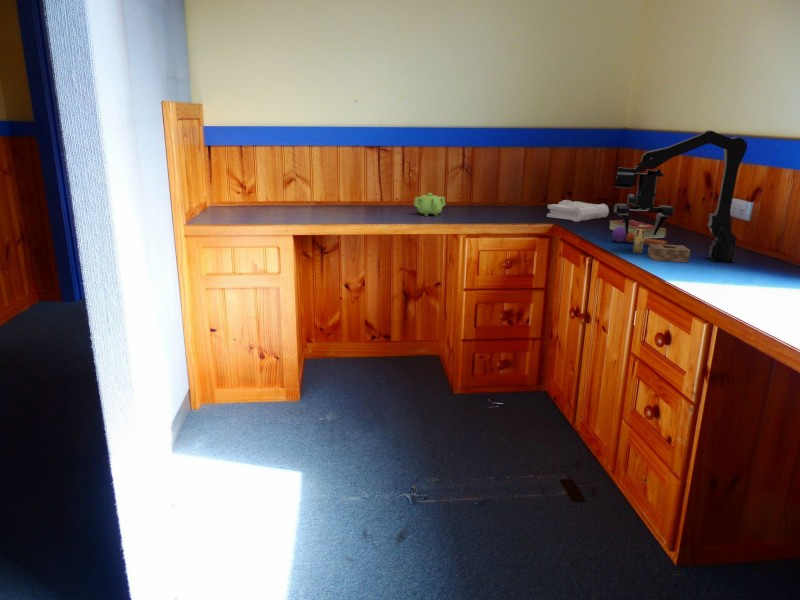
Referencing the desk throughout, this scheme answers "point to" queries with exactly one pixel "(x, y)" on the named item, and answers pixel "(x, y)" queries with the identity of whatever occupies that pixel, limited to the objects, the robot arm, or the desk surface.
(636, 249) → the brass pin
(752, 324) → the desk surface
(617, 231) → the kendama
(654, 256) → the bore block
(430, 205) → the teapot
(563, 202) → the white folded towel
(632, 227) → the hardcover book
